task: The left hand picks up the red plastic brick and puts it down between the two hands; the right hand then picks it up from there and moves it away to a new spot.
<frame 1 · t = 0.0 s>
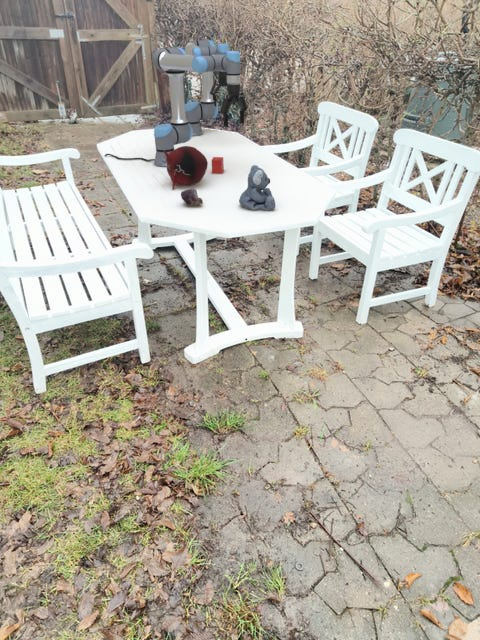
left hand: (234, 125, 259), 28 cm above the table, tool pointing down, fingers open, 13 cm apart
right hand: (224, 105, 314), 28 cm above the table, tool pointing down, fingers open, 13 cm apart
koala plush: (256, 206, 229), on the table
dark red rounded piece: (187, 183, 261), on the table
brick: (217, 172, 279), on the table
rock: (191, 204, 231), on the table
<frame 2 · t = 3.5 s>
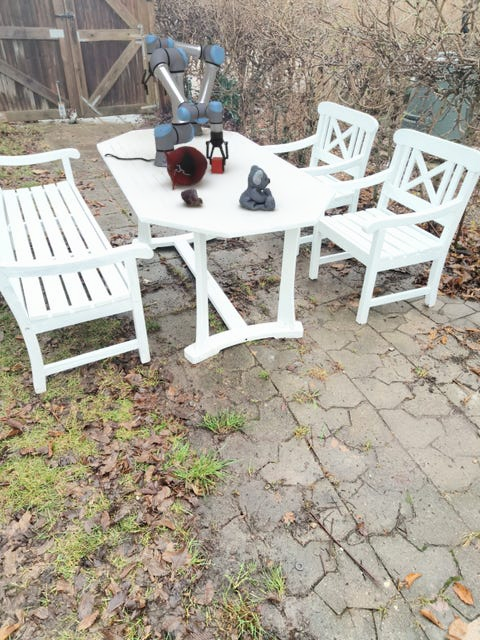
left hand: (217, 170, 278), 1 cm above the table, tool pointing down, fingers closed on brick, 6 cm apart
right hand: (156, 95, 324), 33 cm above the table, tool pointing down, fingers open, 13 cm apart
brick: (217, 171, 279), on the table, touching left hand
everything else where it was.
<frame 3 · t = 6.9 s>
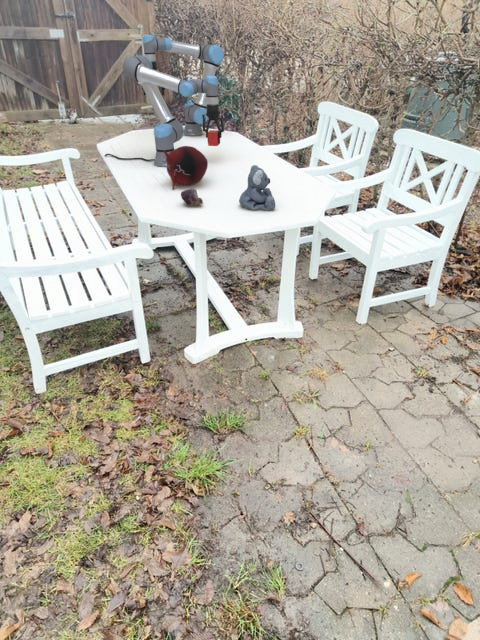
left hand: (213, 143, 291), 12 cm above the table, tool pointing down, fingers closed on brick, 6 cm apart
right hand: (154, 95, 324), 33 cm above the table, tool pointing down, fingers open, 13 cm apart
brick: (214, 144, 292), point 11 cm above the table, touching left hand
everything else where it was.
when the left hand's fingers open (2 cm above the table, at t = 10.5 s): brick drops 1 cm, on the table.
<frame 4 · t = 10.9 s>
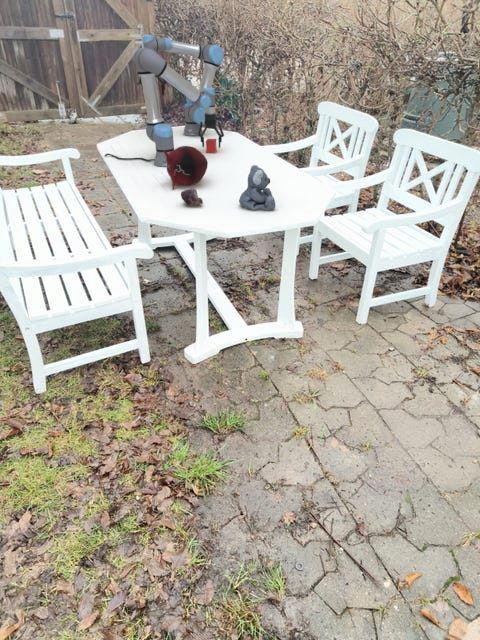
left hand: (211, 147, 317), 3 cm above the table, tool pointing down, fingers open, 11 cm apart
right hand: (154, 95, 324), 33 cm above the table, tool pointing down, fingers open, 13 cm apart
brick: (211, 151, 319), on the table
everything else where it was.
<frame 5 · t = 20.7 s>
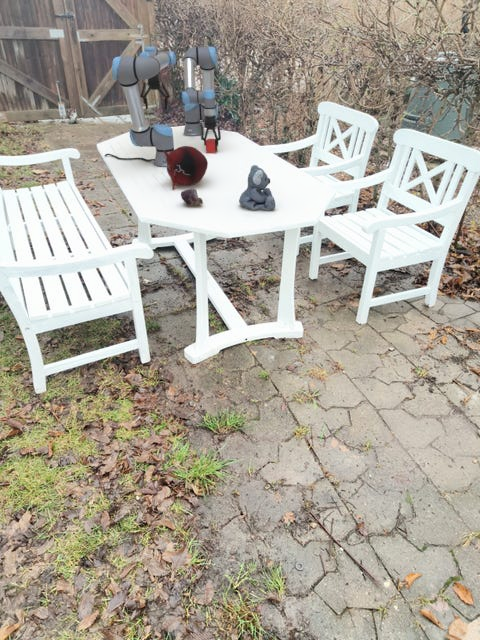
left hand: (156, 109, 309), 27 cm above the table, tool pointing down, fingers open, 13 cm apart
right hand: (211, 150, 318), 1 cm above the table, tool pointing down, fingers closed on brick, 6 cm apart
brick: (211, 151, 319), on the table, touching right hand
everything else where it was.
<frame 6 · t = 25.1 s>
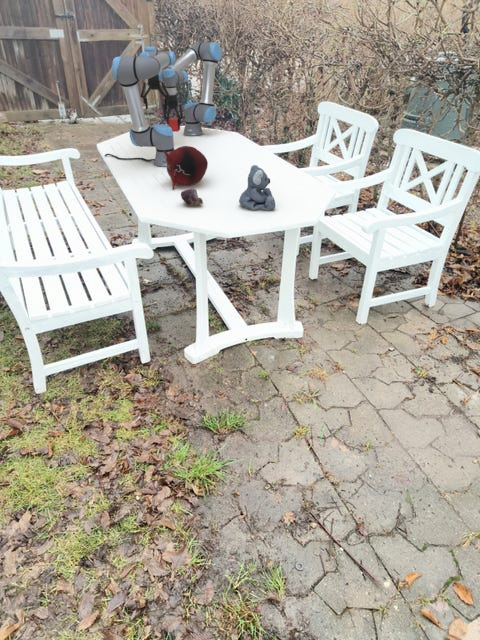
left hand: (156, 109, 309), 27 cm above the table, tool pointing down, fingers open, 13 cm apart
right hand: (174, 129, 328), 12 cm above the table, tool pointing down, fingers closed on brick, 6 cm apart
brick: (174, 130, 329), point 11 cm above the table, touching right hand
everything else where it was.
when the right hand's fingers open (2 cm above the table, at t = 29.8 s): brick drops 1 cm, on the table.
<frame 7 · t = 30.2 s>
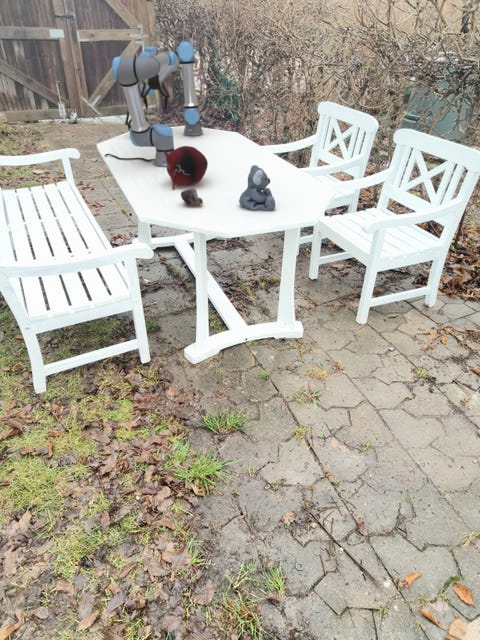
left hand: (156, 109, 309), 27 cm above the table, tool pointing down, fingers open, 13 cm apart
right hand: (138, 134, 350), 3 cm above the table, tool pointing down, fingers open, 11 cm apart
brick: (139, 139, 352), on the table
everything else where it was.
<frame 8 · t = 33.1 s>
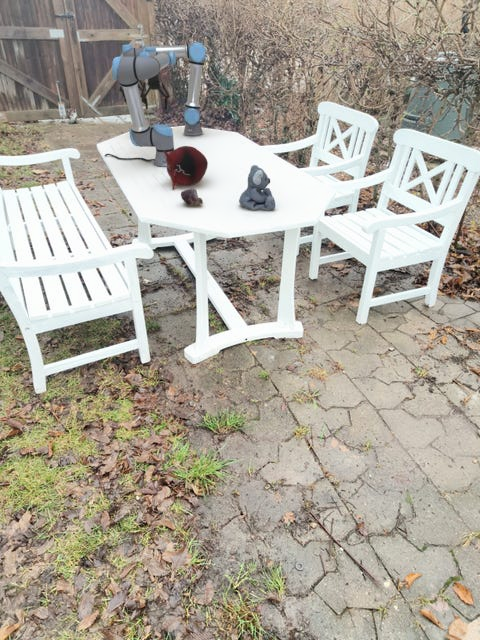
left hand: (156, 109, 309), 27 cm above the table, tool pointing down, fingers open, 13 cm apart
right hand: (134, 101, 337), 27 cm above the table, tool pointing down, fingers open, 13 cm apart
nothing on the table moved.
at the end: brick inside the target area (0.1 cm from its centre), on the table; brick tilted 0°; the two hands never held the brick at the same time; the left hand is holding nothing; the right hand is holding nothing; brick at rest at the end (0.0 cm/s) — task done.
